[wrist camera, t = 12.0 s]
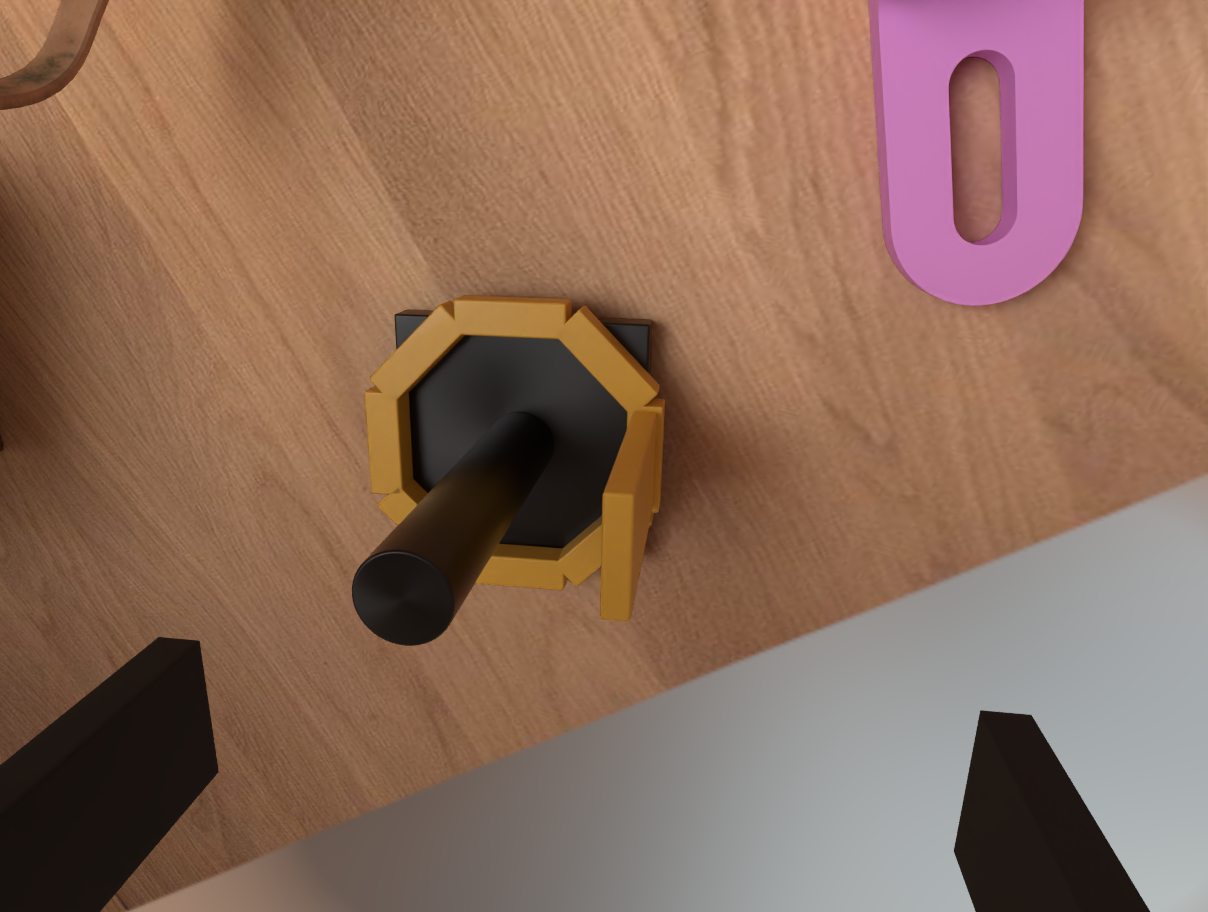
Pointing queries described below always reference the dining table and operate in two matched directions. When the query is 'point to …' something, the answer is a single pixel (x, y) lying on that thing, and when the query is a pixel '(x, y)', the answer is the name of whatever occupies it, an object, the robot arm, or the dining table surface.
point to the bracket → (1028, 139)
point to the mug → (55, 55)
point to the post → (492, 469)
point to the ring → (633, 474)
